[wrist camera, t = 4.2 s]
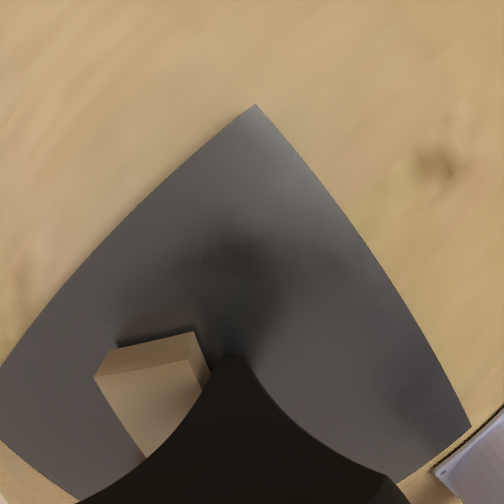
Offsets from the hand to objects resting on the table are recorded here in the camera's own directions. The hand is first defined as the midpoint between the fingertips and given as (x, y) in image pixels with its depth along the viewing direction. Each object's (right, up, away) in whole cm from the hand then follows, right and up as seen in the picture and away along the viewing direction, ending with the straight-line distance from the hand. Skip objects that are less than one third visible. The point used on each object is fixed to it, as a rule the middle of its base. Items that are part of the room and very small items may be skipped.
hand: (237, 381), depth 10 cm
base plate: (-1, -5, +3) cm, 6 cm away
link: (-1, -6, +2) cm, 6 cm away
